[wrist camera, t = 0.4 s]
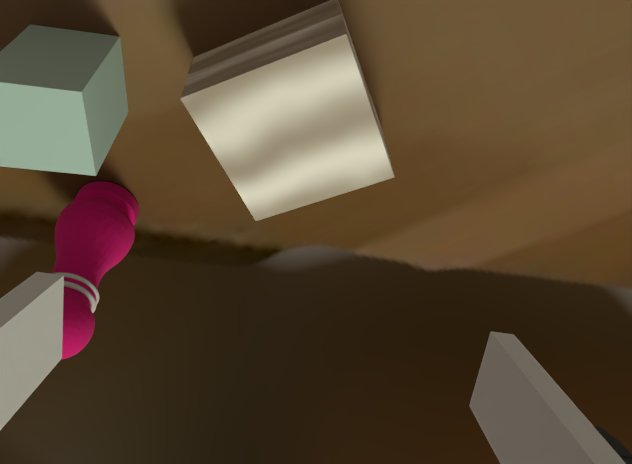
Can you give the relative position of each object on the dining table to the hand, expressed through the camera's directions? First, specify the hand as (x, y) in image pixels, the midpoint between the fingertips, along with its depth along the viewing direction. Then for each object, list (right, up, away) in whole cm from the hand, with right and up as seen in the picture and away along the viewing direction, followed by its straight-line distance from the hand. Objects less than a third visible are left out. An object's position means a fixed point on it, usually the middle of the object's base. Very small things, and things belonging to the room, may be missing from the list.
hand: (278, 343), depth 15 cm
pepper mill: (-21, +7, +38) cm, 44 cm away
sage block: (-19, +17, +28) cm, 38 cm away
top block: (-1, +13, +27) cm, 30 cm away
